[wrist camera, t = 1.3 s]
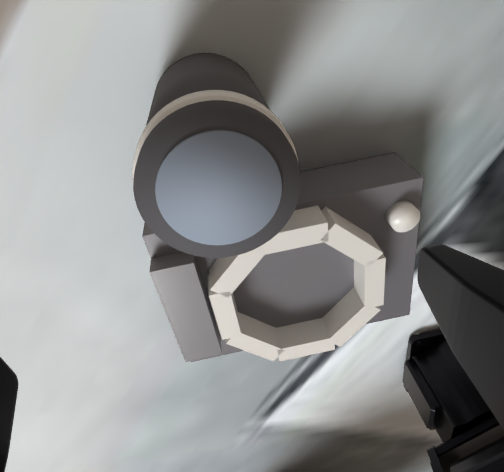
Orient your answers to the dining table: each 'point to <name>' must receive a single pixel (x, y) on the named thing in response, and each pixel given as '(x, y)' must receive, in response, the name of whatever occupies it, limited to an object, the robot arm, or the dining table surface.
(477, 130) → the dining table surface
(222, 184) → the lens
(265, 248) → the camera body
